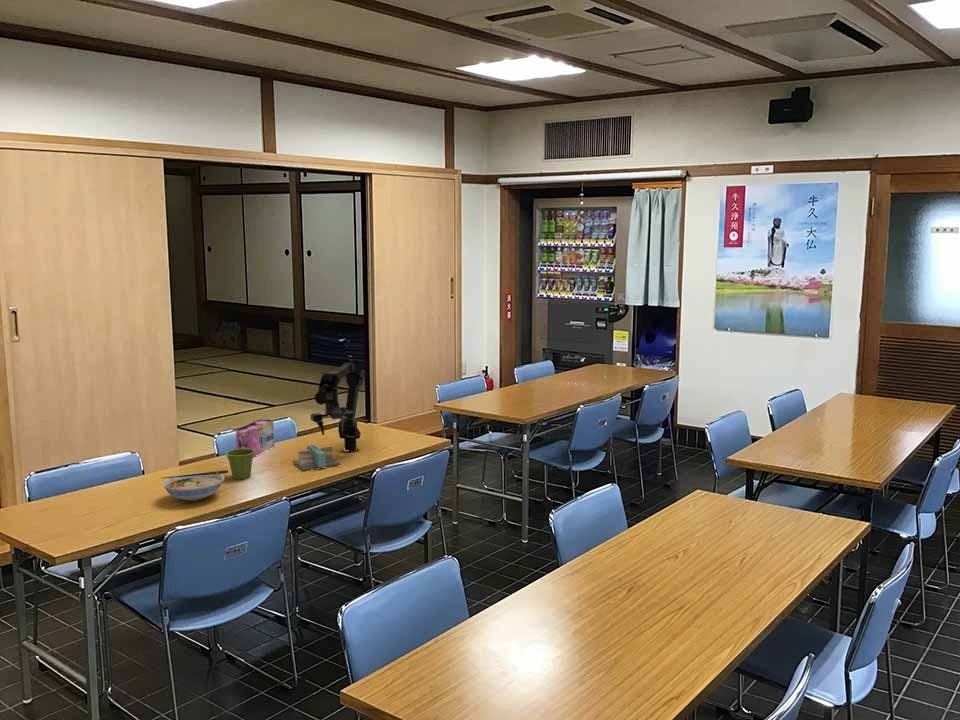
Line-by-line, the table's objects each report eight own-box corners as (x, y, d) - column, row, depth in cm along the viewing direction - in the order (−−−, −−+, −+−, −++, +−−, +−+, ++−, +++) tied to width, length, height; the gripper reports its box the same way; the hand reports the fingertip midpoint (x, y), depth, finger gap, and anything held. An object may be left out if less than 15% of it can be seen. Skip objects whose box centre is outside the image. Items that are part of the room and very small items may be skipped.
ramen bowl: (157, 510, 299) (155, 489, 297) (164, 493, 320) (162, 473, 319) (227, 504, 305) (226, 483, 304) (229, 487, 327) (228, 467, 326)
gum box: (250, 459, 370) (248, 430, 368) (234, 458, 372) (233, 430, 370) (275, 447, 393) (273, 419, 391) (260, 446, 395) (259, 419, 393)
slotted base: (292, 463, 362) (292, 447, 361) (329, 457, 370) (328, 443, 369) (302, 471, 348) (301, 455, 347) (340, 465, 356) (339, 450, 355)
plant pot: (223, 482, 334) (222, 455, 333) (232, 474, 346) (230, 448, 345) (252, 481, 335) (250, 455, 333) (259, 473, 346) (258, 448, 345)
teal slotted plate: (307, 458, 366) (307, 445, 365) (314, 457, 368) (313, 444, 367) (319, 467, 350) (318, 454, 350) (325, 466, 352) (325, 453, 351)
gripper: (316, 405, 352) (318, 440, 354) (357, 401, 361) (358, 434, 363) (309, 401, 362) (311, 435, 364) (349, 397, 370) (350, 430, 373)
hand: (333, 433), depth 366 cm, fingers open, 9 cm apart
